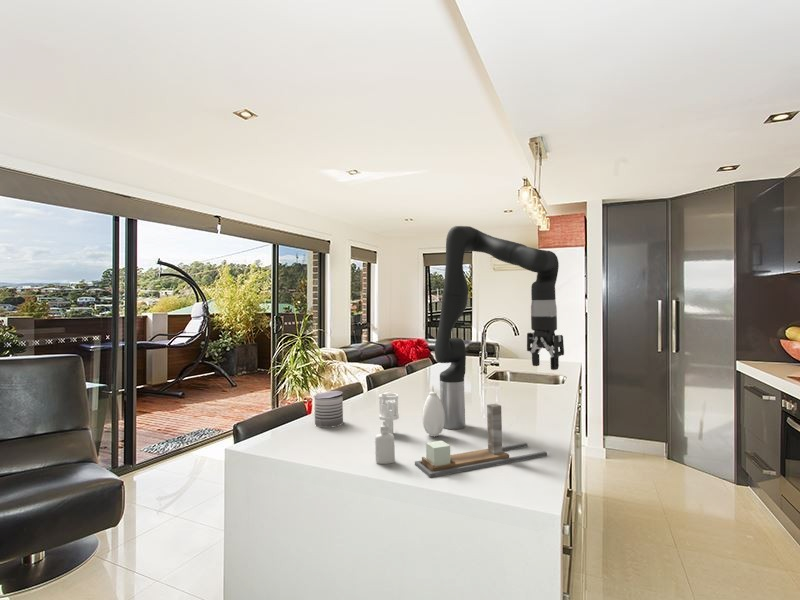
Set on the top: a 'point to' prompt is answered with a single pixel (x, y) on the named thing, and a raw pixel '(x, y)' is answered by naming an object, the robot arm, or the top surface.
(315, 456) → the top surface
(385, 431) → the eye dropper bottle
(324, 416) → the can
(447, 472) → the track
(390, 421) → the white tall plastic piece
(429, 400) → the sauce bottle
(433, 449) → the block
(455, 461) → the wooden board with post
